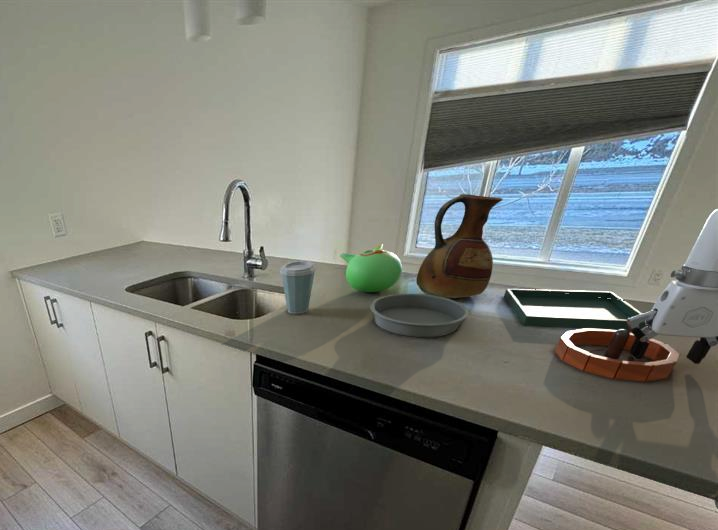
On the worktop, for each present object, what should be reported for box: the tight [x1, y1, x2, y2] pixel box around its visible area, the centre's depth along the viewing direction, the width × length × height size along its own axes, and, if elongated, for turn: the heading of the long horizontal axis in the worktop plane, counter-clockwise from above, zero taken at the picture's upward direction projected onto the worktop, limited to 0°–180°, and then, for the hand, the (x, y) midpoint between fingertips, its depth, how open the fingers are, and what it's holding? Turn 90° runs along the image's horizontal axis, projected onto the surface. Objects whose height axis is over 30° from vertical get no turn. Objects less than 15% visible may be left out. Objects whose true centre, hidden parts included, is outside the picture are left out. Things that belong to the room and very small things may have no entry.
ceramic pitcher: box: [416, 193, 504, 300], centre depth 124 cm, size 20×20×30 cm
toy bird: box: [339, 243, 403, 293], centre depth 138 cm, size 18×17×15 cm
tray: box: [503, 288, 646, 332], centre depth 111 cm, size 26×24×3 cm
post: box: [589, 329, 635, 362], centre depth 87 cm, size 7×7×7 cm
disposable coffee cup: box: [280, 259, 316, 315], centre depth 126 cm, size 11×11×15 cm
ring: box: [554, 328, 681, 382], centre depth 88 cm, size 18×18×4 cm
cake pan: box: [370, 293, 470, 338], centre depth 113 cm, size 25×25×4 cm
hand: (663, 358), depth 85 cm, fingers open, 8 cm apart
